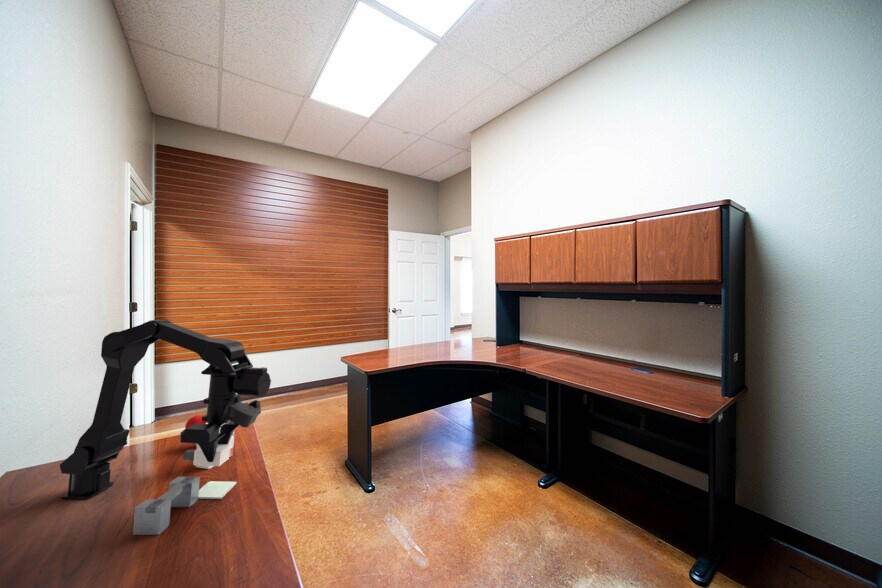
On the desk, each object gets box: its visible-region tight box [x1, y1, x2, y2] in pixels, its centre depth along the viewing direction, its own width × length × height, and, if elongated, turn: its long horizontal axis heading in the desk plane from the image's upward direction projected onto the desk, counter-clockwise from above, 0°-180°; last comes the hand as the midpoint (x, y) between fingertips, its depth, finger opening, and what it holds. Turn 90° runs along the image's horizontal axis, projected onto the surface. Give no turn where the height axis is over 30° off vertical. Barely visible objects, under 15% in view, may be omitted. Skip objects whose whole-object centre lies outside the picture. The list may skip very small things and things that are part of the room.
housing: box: [132, 476, 201, 536], centre depth 72 cm, size 5×12×5 cm, turn 4°
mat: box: [198, 480, 238, 500], centre depth 82 cm, size 7×7×1 cm
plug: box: [182, 444, 231, 467], centre depth 79 cm, size 9×4×3 cm, turn 93°
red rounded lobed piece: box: [184, 414, 207, 446], centre depth 106 cm, size 9×7×10 cm
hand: (216, 457), depth 79 cm, fingers closed on plug, 4 cm apart
